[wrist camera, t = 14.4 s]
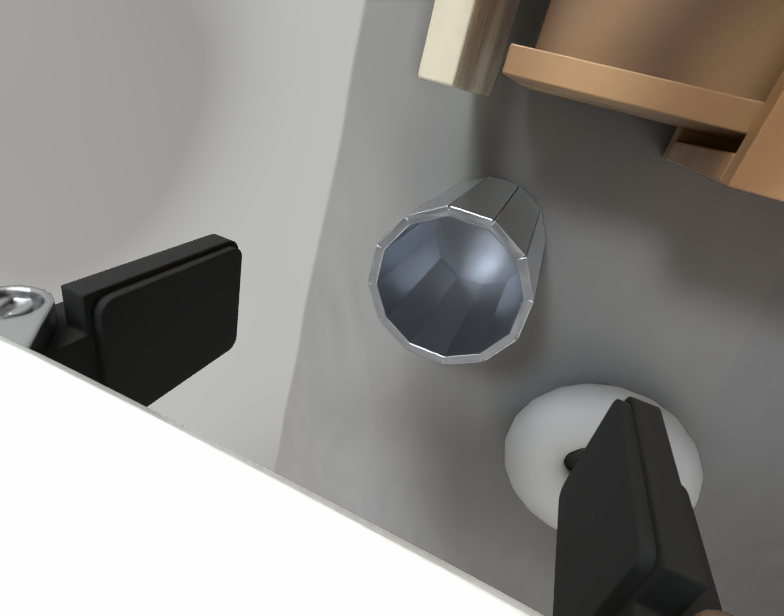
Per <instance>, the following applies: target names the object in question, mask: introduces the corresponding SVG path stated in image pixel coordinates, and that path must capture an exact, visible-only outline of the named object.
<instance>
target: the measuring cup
mask: <svg viewBox="0 0 784 616" xmlns="http://www.w3.org/2000/svg"><path fill="white" fill-rule="evenodd" d="M545 241H546V237H545V231H544V223H543V218H542V212H541V211H540V208H539V207H538V206H537V204H536V203H535V201H534V200H533V199H532V197H531V196H530V195H529V194H528V193H527V192H526V191H524V190H523V189H522V188H521V187H519V185H516V184H514V183H511V182H509V181H506V180H503V179H498V178H493V177H489V178H488V177H483V178H479V179H474V180H471V181H467V182H463V183H460V184H458V185H456V186H454V187H453V188H451V189H449V190H448V191H446V192H444V193H443V194H441V195H439V196H438V197H436V198H434V199H433V200H431V201H429V202H427V203H426V204H424V205H422V206H421V207H419V208H417V209H416V210H414V211H412V212H411V213H409V214H407V215H406V216H404V217H403V218H402V219H401V220H400V221H399V222H398V223H397V224H396V225H395V226H394V227H393V228H392V229H391V230H390V231H389V232H388V233H387V234H386V235H385V236H384V237H383V238H382V239H381V240H380V241H379V242H378V245H377V246H376V250H375V254H374V259H373V263H372V267H371V272H370V276H369V282H370V283H369V288H370V291H371V294H372V298H373V301H374V305H375V308H376V311H377V315H378V318H379V319H381V320H380V322H381V323H382V324H383V325H384V326H385V327H386V328H387V329H388V330H389V332H390V333H391V334H392V335H393V336H394V337H395V338H396V339H397V340H398V341H399V342H400V344H401V345H402V346H403V347H404V348H405V349H406V348H407V350H408V351H411V352H413V353H416V354H418V355H421V356H423V357H426V358H428V359H430V360H433V361H435V362H438V363H440V364H443V363H444V364H445V365H449V364H463V363H476V362H483V360H484V361H486V360H488V359H489V358H491V357H492V356H494V355H495V354H497V353H498V352H500V351H501V350H503V349H504V348H506V347H507V346H509V345H510V344H512V343H513V342H515V341H516V340H517V338H519V336H520V333H521V331H522V329H523V326H524V324H525V322H526V319H527V317H528V315H529V312H530V310H531V308H532V305H533V303H534V299H535V294H536V289H537V283H538V278H539V273H540V268H541V263H542V258H543V252H544V247H545Z"/></svg>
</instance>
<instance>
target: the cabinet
mask: <svg viewBox="0 0 784 616" xmlns="http://www.w3.org/2000/svg"><path fill="white" fill-rule="evenodd" d="M663 158H664V159H666V160H668V161H671V162H673V163H675V164H677V165H680V166H682V167H684V168H687V169H689V170H691V171H694V172H696V173H698V174H701V175H703V176H705V177H708V178H710V179H712V180H714V181H717V182H719V183H721V184H723V185H726V186H728V187H731V188H734V189H738V190H742V191H745V192H749V193H753V194H756V195H760V196H763V197H767V198H771V199H774V200H778V201H782V202H784V70H783V72H782V73H781V75H780V77H779V79H778V80H777V82H776V84H775V86H774V87H773V89H772V91H771V93H770V94H769V96H768V98H767V100H766V101H765V103H764V105H763V107H762V108H761V110H760V112H759V114H758V115H757V117H756V119H755V121H754V123H753V124H752V126H751V128H750V130H749V131H748V133H747V135H746V137H745V138H744V140H743V142H742V143H740V142H736V141H732V140H728V139H724V138H720V137H716V136H712V135H709V134H705V133H701V132H697V131H693V130H689V129H685V128H681V127H677V129H676V131H675V133H674V135H673V137H672V139H671V141H670V143H669V145H668V147H667V149H666V151H665V153H664V155H663Z"/></svg>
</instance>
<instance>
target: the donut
mask: <svg viewBox="0 0 784 616" xmlns="http://www.w3.org/2000/svg"><path fill="white" fill-rule="evenodd" d="M630 396H631V397H634V398H636V399H639V400H641V401H644V402H647V403H649V404H652V405H654V406H657V407H659V408H660V410H661V412H662V416H663V420H664V423H665V427H666V431H667V434H668V438H669V441H670V445H671V449H672V452H673V456H674V460H675V463H676V467H677V470H678V474H679V478H680V481H681V485H682V486H684V487H685V488H686V490H687V492H688V494H689V497H690V500H691V504H692V507H693V508H694V507H695V506H696V504H697V502H698V499H699V494H700V490H701V486H702V482H703V471H702V466H701V462H700V458H699V454H698V449H697V446H696V444H695V443H694V441H693V440H692V439H691V437H690V436H689V434H688V433H687V432H686V430H685V429H684V427H683V426H682V425H681V423H680V422H679V420H678V419H677V418H676V417H675V416H674V415H672V414H671V413H670V412H668V411H667V410H666V409H664V408H663V407H662V406H660V405H659V404H657V403H656V402H655V401H653V400H652V399H650V398H648V397H645V396H642V395H640V394H637V393H634V392H632V391H629V390H626V389H624V388H621V387H619V386H611V385H602V384H593V383H584V384H577V385H570V386H563V387H559V388H557V389H554V390H552V391H550V392H548V393H545V394H543V395H541V396H539V397H537V398H534V399H533V400H532V401H531V402H530V403H529V404H528V405H526V406H525V407H524V408H523V409H522V410H521V411H520V412H519V413H518V414H517V415H516V417H515V419H514V421H513V423H512V425H511V427H510V430H509V432H508V434H507V436H506V438H505V468H506V471H507V474H508V476H509V479H510V482H511V485H512V487H513V489H514V491H515V493H516V494H517V495H518V496H519V498H520V499H521V500H522V501H523V503H524V504H525V505H526V507H527V508H528V509H529V510H530V511H531V512H532V513H533V514H535V515H536V516H537V517H539V518H540V519H541V520H543V521H544V522H545V523H546V524H548V525H549V526H551V527H553V528H555V529H557V523H558V503H559V495H560V492H561V489H562V486H563V484H564V482H565V481H566V479H567V477H568V476H569V474H570V472H571V471H569V470H568V469H567V468H566V466H565V465H564V459H565V457H566V455H567V454H569V453H570V452H572V451H575V450H578V449H580V448H586V446H587V444H588V443H589V441H590V439H591V438H592V436H593V434H594V433H595V431H596V430H597V428H598V426H599V425H600V423H601V421H602V420H603V418H604V416H605V415H606V413H607V411H608V410H609V408H610V406H611V405H612V403H613V402H614V401H615V400H616V399H620V400H623V401H624V400H625V399H626V398H627V397H630Z"/></svg>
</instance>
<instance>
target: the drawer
mask: <svg viewBox="0 0 784 616" xmlns="http://www.w3.org/2000/svg"><path fill="white" fill-rule="evenodd" d="M519 2H520V0H435V3H434V8H433V12H432V16H431V21H430V25H429V29H428V34H427V38H426V42H425V47H424V51H423V55H422V60H421V64H420V68H419V73H418V77H419V78H420V79H423V80H427V81H431V82H435V83H439V84H442V85H446V86H450V87H454V88H458V89H461V90H465V91H469V92H473V93H477V94H480V95H484V96H488V97H490V96H491V94H492V91H493V87H494V84H495V81H496V78H497V74H498V71H499V68H500V64H501V61H502V58H503V55H504V51H505V48H506V45H507V41H508V38H509V35H510V32H511V28H512V25H513V22H514V19H515V15H516V12H517V9H518V5H519ZM783 70H784V0H550V2H549V5H548V8H547V11H546V14H545V18H544V21H543V24H542V27H541V30H540V33H539V36H538V39H537V42H536V45H535V48H531V47H526V46H522V45H518V44H514V43H512V44H511V45H510V47H509V51H508V54H507V57H506V60H505V64H504V67H503V70H502V73H503V74H505V75H506V76H508V77H509V78H511V79H512V80H514V81H515V82H517V83H518V84H520V85H521V86H523V87H525V88H528V89H532V90H536V91H540V92H544V93H548V94H552V95H556V96H560V97H563V98H567V99H571V100H575V101H579V102H583V103H587V104H591V105H595V106H599V107H603V108H607V109H611V110H614V111H618V112H622V113H626V114H630V115H634V116H638V117H642V118H646V119H650V120H654V121H658V122H662V123H665V124H669V125H673V126H677V127H681V128H685V129H689V130H693V131H697V132H701V133H705V134H709V135H712V136H716V137H720V138H724V139H728V140H732V141H736V142H740V143H742V142H743V140H744V138H745V137H746V135H747V133H748V131H749V130H750V128H751V126H752V124H753V123H754V121H755V119H756V117H757V115H758V114H759V112H760V110H761V108H762V107H763V105H764V103H765V101H766V100H767V98H768V96H769V94H770V93H771V91H772V89H773V87H774V86H775V84H776V82H777V80H778V79H779V77H780V75H781V73H782V72H783Z"/></svg>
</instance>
